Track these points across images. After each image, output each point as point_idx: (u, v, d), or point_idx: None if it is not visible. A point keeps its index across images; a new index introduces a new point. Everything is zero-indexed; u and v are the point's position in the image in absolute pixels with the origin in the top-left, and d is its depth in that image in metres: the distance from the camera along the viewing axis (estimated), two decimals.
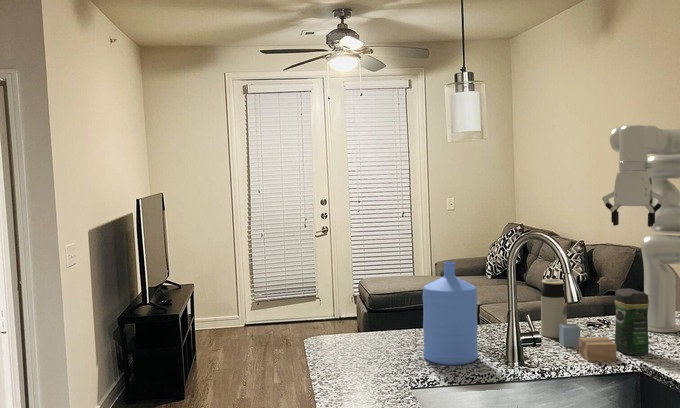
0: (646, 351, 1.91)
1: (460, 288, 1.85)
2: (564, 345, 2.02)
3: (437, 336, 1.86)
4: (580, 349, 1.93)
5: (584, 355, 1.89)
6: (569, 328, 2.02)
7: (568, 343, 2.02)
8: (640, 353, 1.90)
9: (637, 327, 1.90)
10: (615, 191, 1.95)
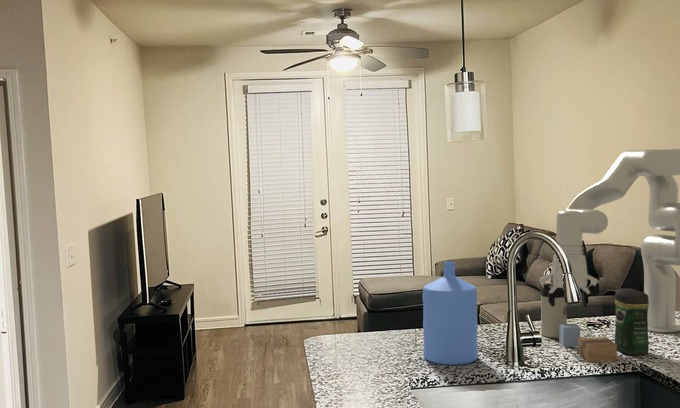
0: (646, 351, 1.91)
1: (460, 288, 1.85)
2: (564, 345, 2.02)
3: (437, 336, 1.86)
4: (580, 349, 1.92)
5: (584, 356, 1.89)
6: (569, 328, 2.02)
7: (568, 343, 2.02)
8: (640, 354, 1.90)
9: (637, 327, 1.90)
10: None
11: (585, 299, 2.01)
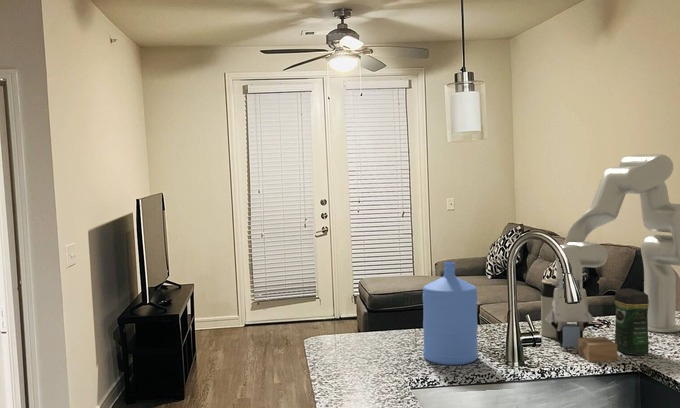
0: (646, 351, 1.91)
1: (460, 288, 1.85)
2: (564, 345, 2.02)
3: (437, 336, 1.86)
4: (580, 349, 1.92)
5: (584, 356, 1.89)
6: (569, 328, 2.02)
7: (568, 343, 2.02)
8: (640, 353, 1.90)
9: (637, 327, 1.90)
10: None
11: None
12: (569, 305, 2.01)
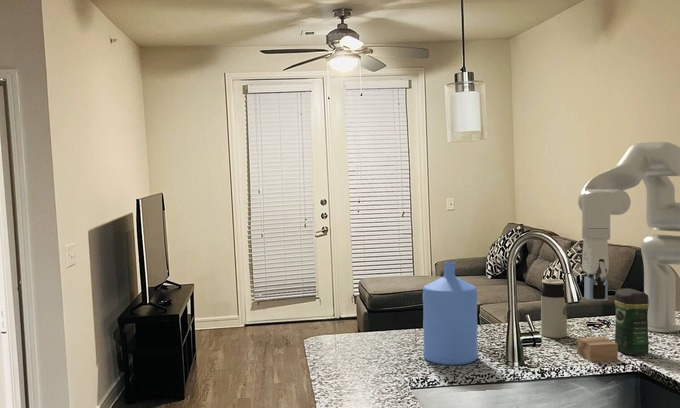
0: (646, 351, 1.91)
1: (460, 288, 1.85)
2: (584, 295, 1.92)
3: (437, 336, 1.86)
4: (580, 350, 1.92)
5: (585, 356, 1.89)
6: (586, 278, 1.90)
7: (585, 294, 1.91)
8: (640, 354, 1.90)
9: (637, 327, 1.90)
10: None
11: (593, 290, 1.87)
12: (585, 254, 1.90)
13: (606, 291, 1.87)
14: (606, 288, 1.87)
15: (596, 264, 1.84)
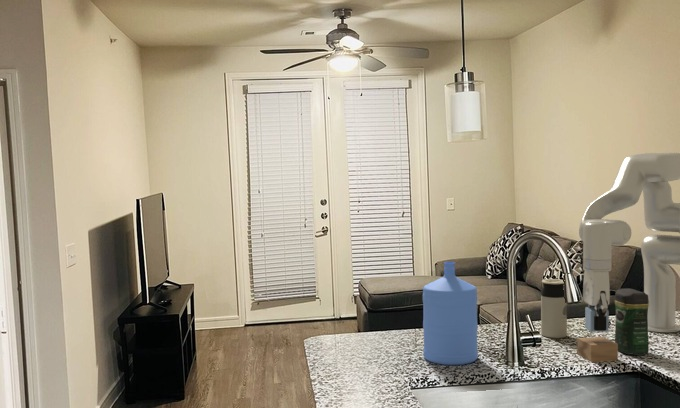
0: (646, 351, 1.91)
1: (460, 288, 1.85)
2: (585, 326, 1.92)
3: (437, 336, 1.86)
4: (579, 350, 1.92)
5: (585, 356, 1.88)
6: (587, 309, 1.90)
7: (586, 325, 1.91)
8: (640, 353, 1.90)
9: (637, 327, 1.90)
10: (609, 291, 1.85)
11: (594, 321, 1.87)
12: (586, 285, 1.90)
13: (607, 322, 1.87)
14: (607, 319, 1.87)
15: (597, 296, 1.84)
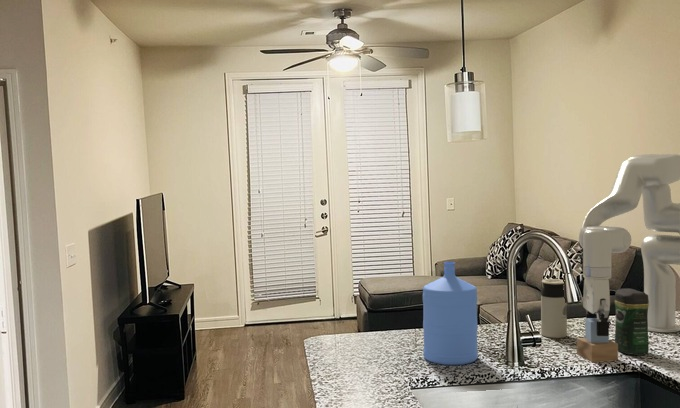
0: (646, 351, 1.91)
1: (460, 288, 1.85)
2: (585, 337, 1.92)
3: (437, 336, 1.86)
4: (579, 350, 1.92)
5: (586, 356, 1.88)
6: (587, 320, 1.91)
7: (586, 336, 1.91)
8: (640, 353, 1.90)
9: (637, 327, 1.90)
10: (609, 299, 1.85)
11: None
12: (586, 292, 1.90)
13: None
14: None
15: (597, 303, 1.84)
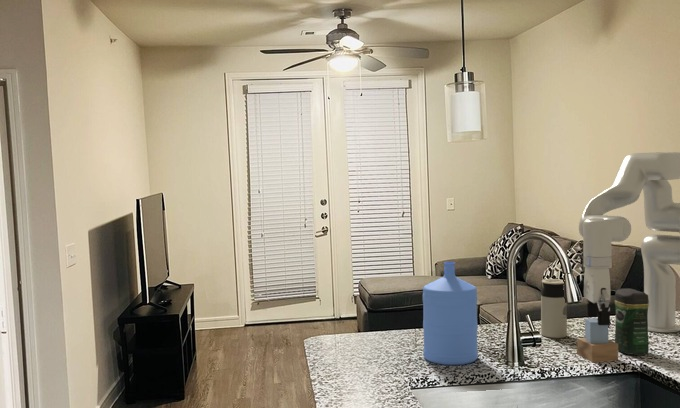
0: (646, 351, 1.91)
1: (460, 288, 1.85)
2: (585, 337, 1.92)
3: (437, 336, 1.86)
4: (580, 350, 1.92)
5: (586, 357, 1.88)
6: (586, 321, 1.90)
7: (586, 336, 1.91)
8: (640, 354, 1.90)
9: (637, 327, 1.90)
10: None
11: (597, 316, 1.85)
12: (587, 282, 1.90)
13: (607, 334, 1.87)
14: (607, 331, 1.87)
15: (598, 293, 1.84)
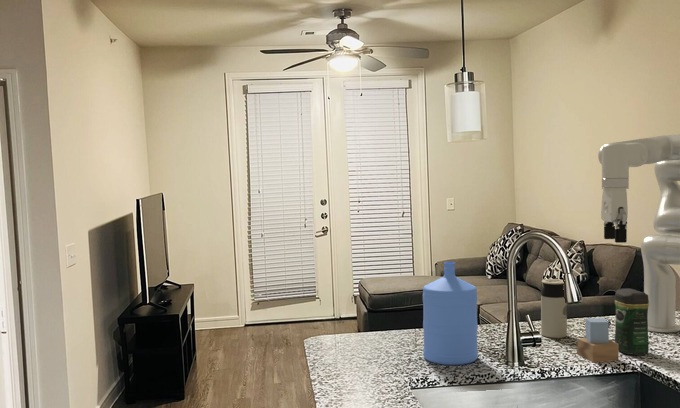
0: (646, 351, 1.91)
1: (460, 288, 1.85)
2: (586, 337, 1.92)
3: (437, 336, 1.86)
4: (580, 350, 1.91)
5: (586, 357, 1.88)
6: (587, 320, 1.91)
7: (587, 336, 1.91)
8: (640, 353, 1.90)
9: (637, 327, 1.90)
10: (627, 207, 1.95)
11: (615, 234, 1.95)
12: (604, 203, 2.00)
13: (607, 334, 1.87)
14: (607, 331, 1.87)
15: (616, 212, 1.94)
